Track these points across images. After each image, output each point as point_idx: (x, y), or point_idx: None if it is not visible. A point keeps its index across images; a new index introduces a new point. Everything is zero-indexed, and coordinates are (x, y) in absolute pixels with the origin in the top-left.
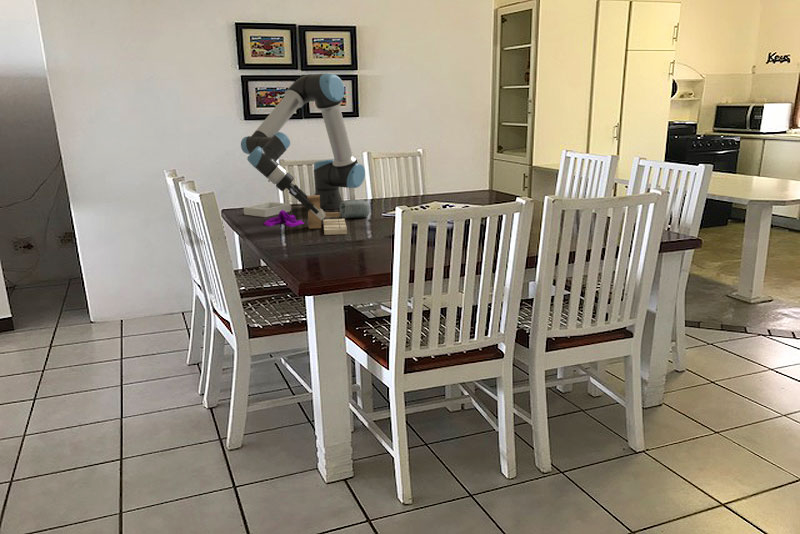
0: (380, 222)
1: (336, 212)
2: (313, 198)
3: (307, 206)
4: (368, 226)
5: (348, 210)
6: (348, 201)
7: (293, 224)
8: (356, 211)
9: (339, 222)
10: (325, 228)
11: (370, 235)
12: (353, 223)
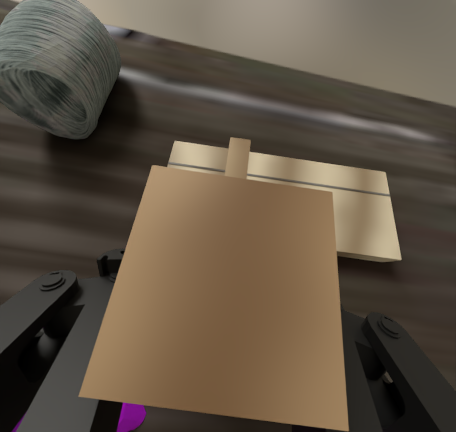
0: (213, 65)
1: (232, 151)
2: (326, 288)
3: (381, 377)
4: (262, 103)
5: (93, 93)
6: (34, 41)
7: (128, 406)
8: (110, 75)
9: (250, 172)
10: (369, 249)
11: (395, 128)
12: (195, 129)
